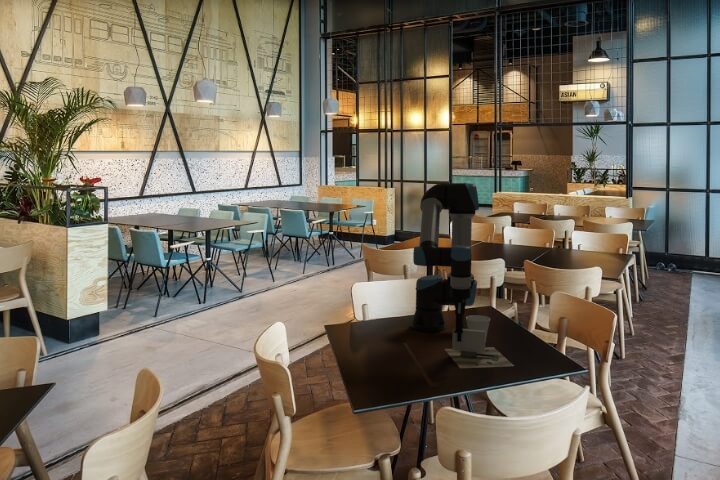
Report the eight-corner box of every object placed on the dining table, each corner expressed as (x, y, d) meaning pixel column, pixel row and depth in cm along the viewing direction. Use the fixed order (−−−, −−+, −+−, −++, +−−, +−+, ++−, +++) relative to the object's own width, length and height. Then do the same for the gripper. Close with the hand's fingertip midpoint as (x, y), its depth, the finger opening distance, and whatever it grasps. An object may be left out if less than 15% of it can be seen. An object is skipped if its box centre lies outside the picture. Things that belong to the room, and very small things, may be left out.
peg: (451, 356, 222) (451, 330, 221) (453, 351, 228) (454, 326, 227) (493, 360, 218) (494, 334, 217) (494, 355, 224) (495, 329, 222)
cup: (490, 348, 236) (490, 322, 234) (464, 347, 238) (465, 320, 236) (489, 341, 245) (490, 315, 244) (465, 340, 247) (465, 314, 246)
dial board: (444, 352, 232) (444, 348, 232) (493, 350, 234) (493, 346, 234) (460, 371, 210) (460, 367, 210) (514, 369, 212) (514, 365, 212)
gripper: (469, 292, 213) (468, 355, 216) (471, 283, 228) (470, 342, 231) (448, 291, 214) (447, 353, 218) (452, 282, 229) (451, 341, 233)
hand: (459, 347), depth 224 cm, fingers closed on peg, 2 cm apart
